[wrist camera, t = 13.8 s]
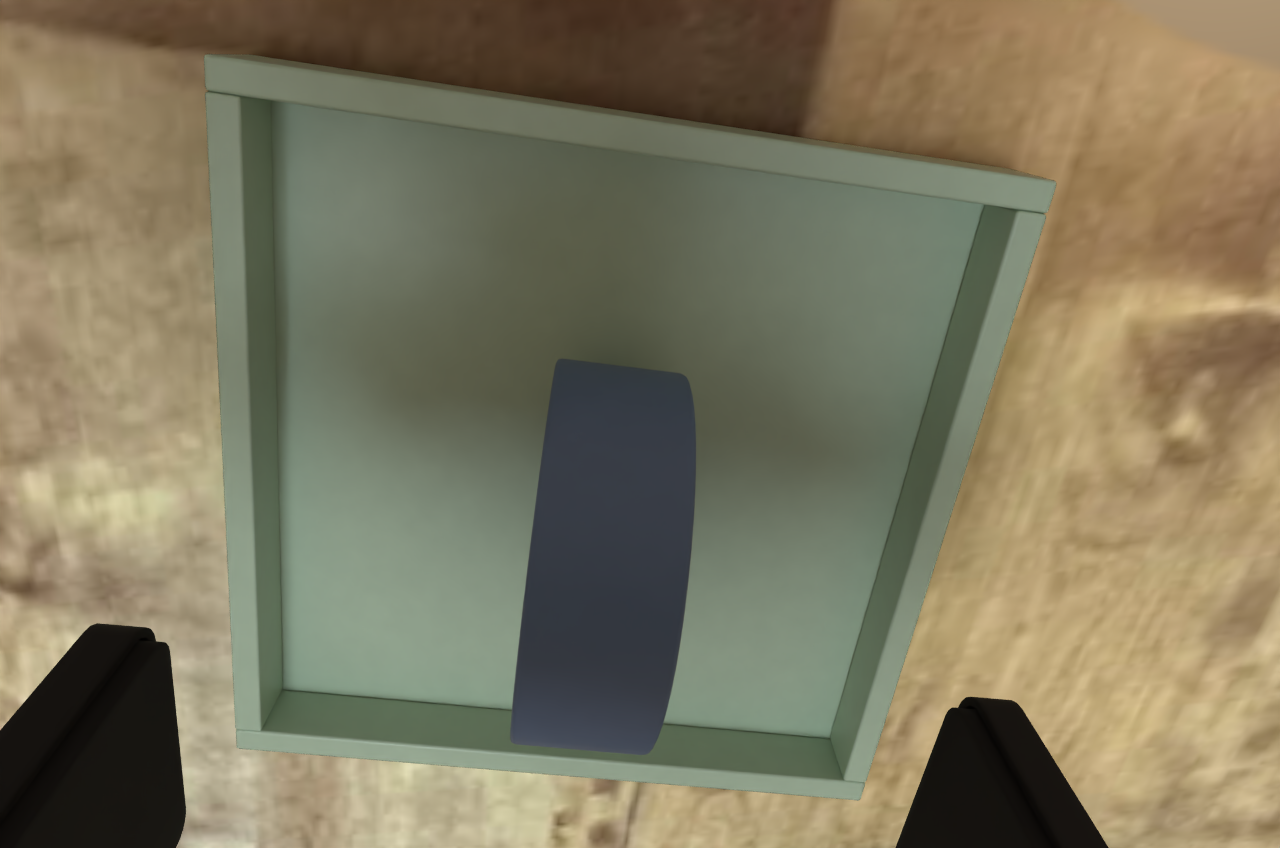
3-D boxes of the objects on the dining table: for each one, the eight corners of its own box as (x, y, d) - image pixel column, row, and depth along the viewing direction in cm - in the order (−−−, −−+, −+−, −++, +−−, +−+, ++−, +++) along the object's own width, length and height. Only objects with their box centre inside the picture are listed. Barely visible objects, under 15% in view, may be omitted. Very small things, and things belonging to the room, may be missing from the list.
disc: (563, 321, 18) (541, 432, 12) (674, 335, 18) (716, 452, 12) (530, 608, 20) (497, 838, 14) (630, 618, 21) (644, 849, 14)
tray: (247, 53, 16) (201, 53, 14) (1012, 169, 18) (1059, 181, 16) (266, 692, 22) (235, 749, 20) (840, 743, 23) (860, 801, 22)
